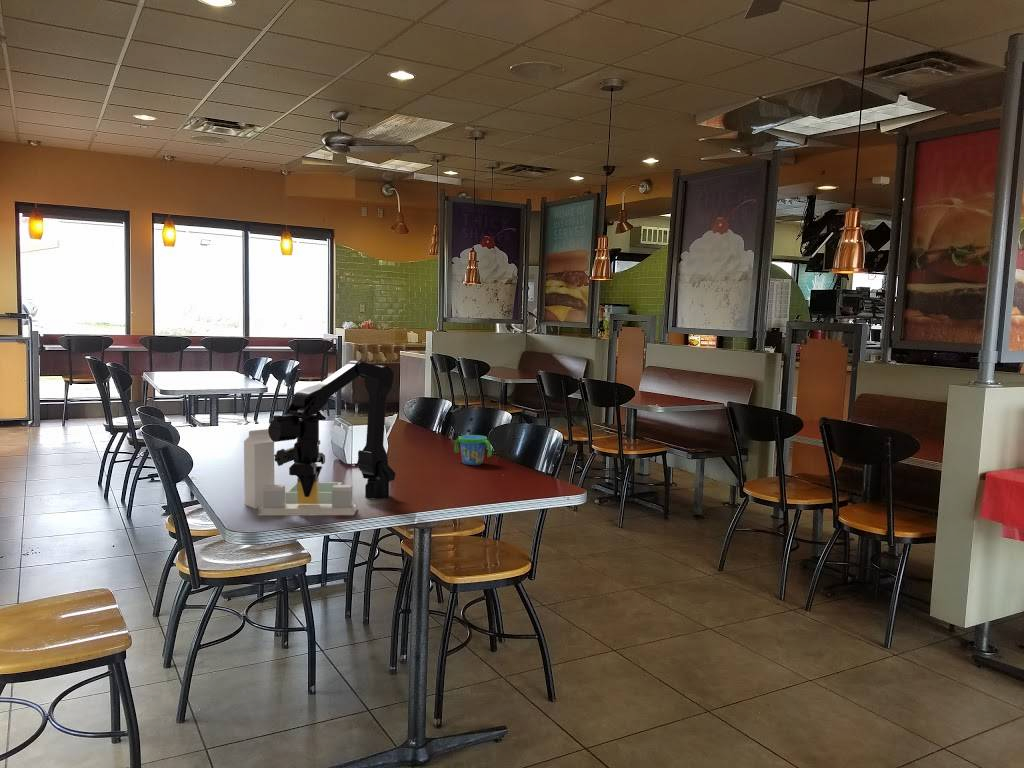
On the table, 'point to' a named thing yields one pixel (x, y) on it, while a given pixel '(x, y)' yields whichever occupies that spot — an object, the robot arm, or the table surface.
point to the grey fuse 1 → (274, 496)
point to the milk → (257, 466)
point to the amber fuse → (313, 495)
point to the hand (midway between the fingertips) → (308, 495)
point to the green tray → (324, 493)
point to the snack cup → (472, 448)
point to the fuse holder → (307, 510)
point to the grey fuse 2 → (342, 496)
